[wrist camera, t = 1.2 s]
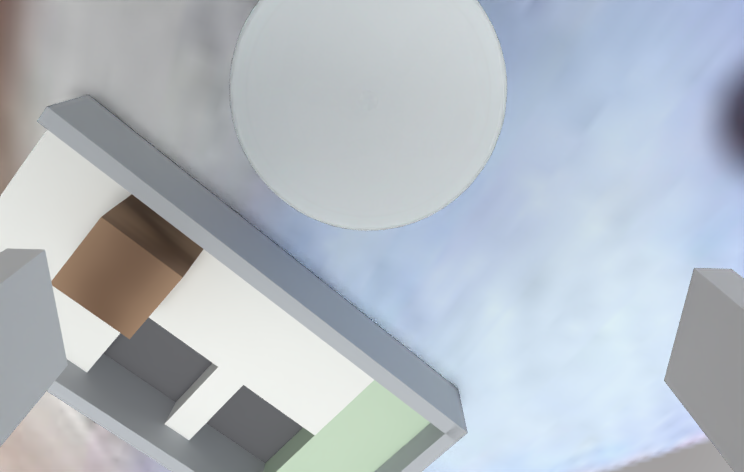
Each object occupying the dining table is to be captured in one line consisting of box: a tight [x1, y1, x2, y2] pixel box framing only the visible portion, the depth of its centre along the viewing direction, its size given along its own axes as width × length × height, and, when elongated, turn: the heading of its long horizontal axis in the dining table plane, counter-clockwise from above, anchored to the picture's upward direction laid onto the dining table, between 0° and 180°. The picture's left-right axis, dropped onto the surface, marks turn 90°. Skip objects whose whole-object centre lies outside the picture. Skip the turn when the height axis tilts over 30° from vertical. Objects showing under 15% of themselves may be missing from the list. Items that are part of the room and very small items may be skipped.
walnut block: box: [51, 194, 203, 339], centre depth 32 cm, size 5×5×4 cm
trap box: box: [0, 95, 468, 472], centre depth 37 cm, size 30×15×4 cm, turn 48°
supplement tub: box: [229, 0, 507, 231], centre depth 26 cm, size 10×10×15 cm
